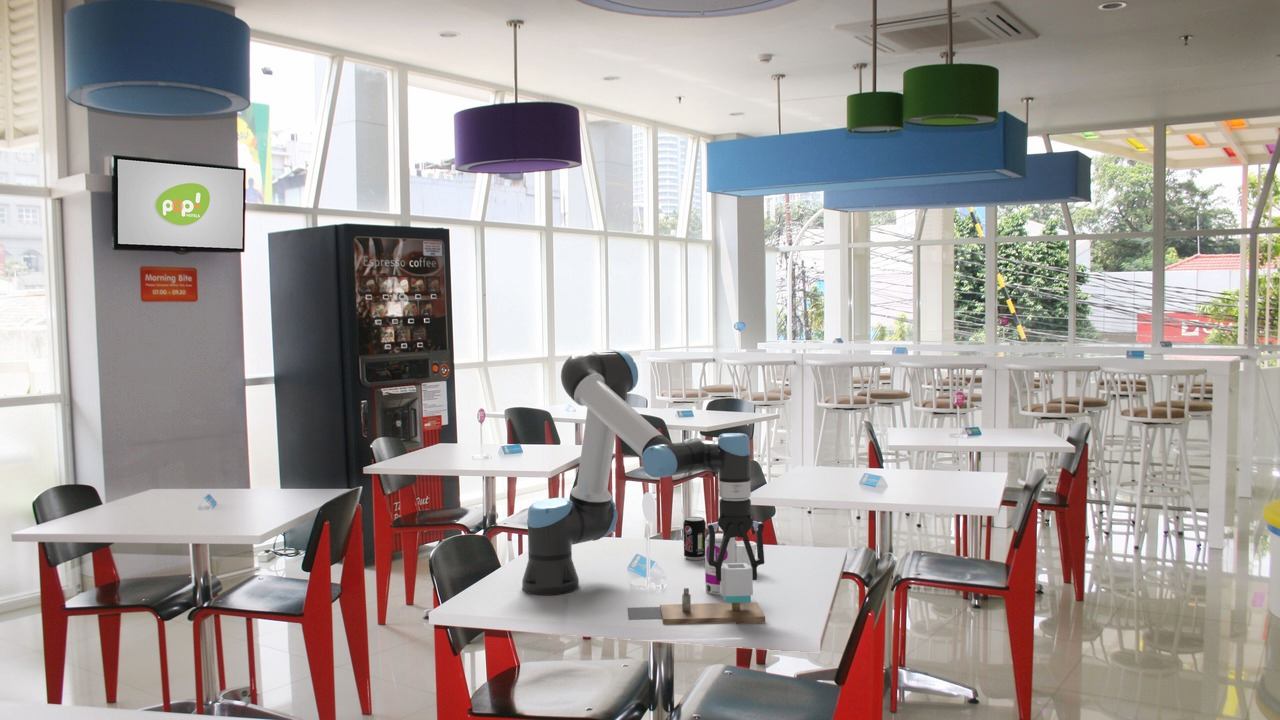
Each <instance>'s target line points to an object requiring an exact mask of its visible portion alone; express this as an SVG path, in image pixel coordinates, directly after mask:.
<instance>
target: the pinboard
mask: <svg viewBox="0 0 1280 720" xmlns="http://www.w3.org/2000/svg"><path fill="white" fill-rule="evenodd" d="M689 589H690V588H689V587H683V594H682V595H681V603H679V604H678V603H677V604H673V603H672V604H659V607H660V611H661V616H662V619H661V620H662V624H663V625H679V624H682V625H684V624H717V623H718V624H719V623H735V624H740V623H741V624H761V623H760V622H765V623H766V615H765V613H764V611H762V608H761V607H760V605H759V603H758V602H757V601H755V602H754V601H753V602H752V601H751V602H746V603H725V602H720V603H719V602H715V603H691V598H692V597H691V594H690V590H689ZM741 624H740V625H741Z"/></svg>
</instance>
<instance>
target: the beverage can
mask: <svg viewBox="0 0 1280 720" xmlns="http://www.w3.org/2000/svg"><path fill="white" fill-rule="evenodd" d="M706 538H707V523H706V520H705V517H701V516H688V517H685V518H684V522H683V556H684V557H685V559H686V560H690V561H701V560H705V540H706Z"/></svg>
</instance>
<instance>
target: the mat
mask: <svg viewBox="0 0 1280 720" xmlns="http://www.w3.org/2000/svg"><path fill="white" fill-rule="evenodd" d="M626 608H627V617H628V621H634V620H635V621H636V620H637V621H638V620H639V621H640V620H662V616H661V611H660V606H649V607H648V606H644V607H643V606H642V607H641V606H640V607H639V606H638V607H626Z"/></svg>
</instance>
